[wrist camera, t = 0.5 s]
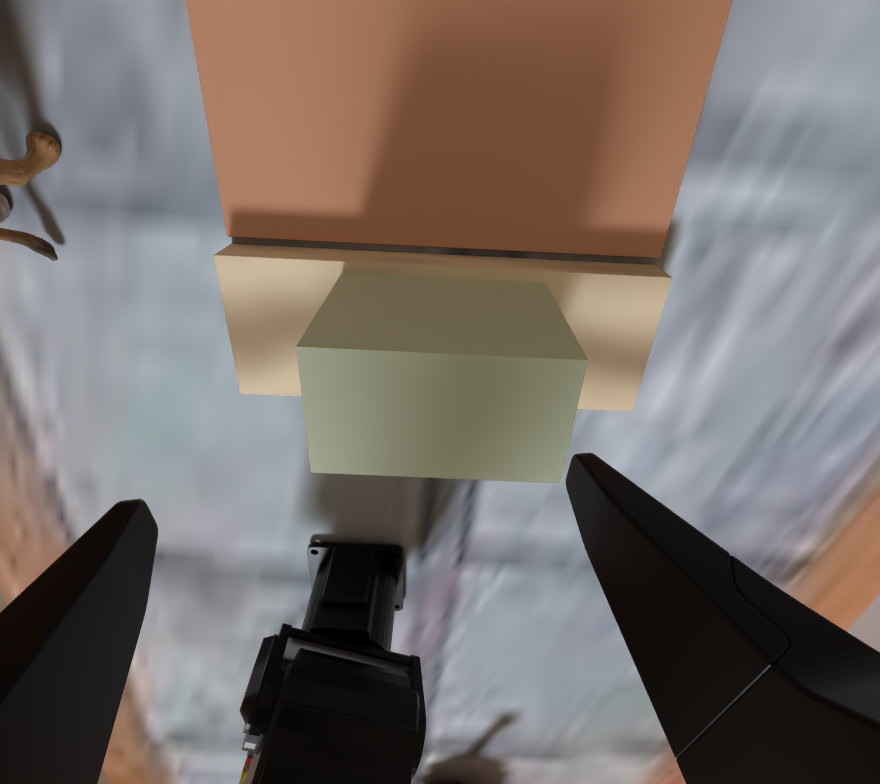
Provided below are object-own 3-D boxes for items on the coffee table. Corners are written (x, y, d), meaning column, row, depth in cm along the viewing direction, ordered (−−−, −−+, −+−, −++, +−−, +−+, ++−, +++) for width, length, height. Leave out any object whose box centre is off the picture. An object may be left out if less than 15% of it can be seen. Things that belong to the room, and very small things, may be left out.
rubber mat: (657, 256, 23) (660, 257, 22) (229, 234, 22) (227, 236, 22) (730, -6, 18) (734, -8, 17) (182, -37, 17) (178, -39, 17)
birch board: (620, 391, 26) (632, 411, 25) (254, 374, 26) (240, 393, 24) (655, 264, 23) (672, 277, 21) (231, 243, 23) (213, 255, 21)
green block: (529, 380, 24) (560, 483, 17) (347, 372, 24) (310, 472, 17) (545, 282, 21) (588, 360, 15) (341, 272, 21) (295, 346, 15)
